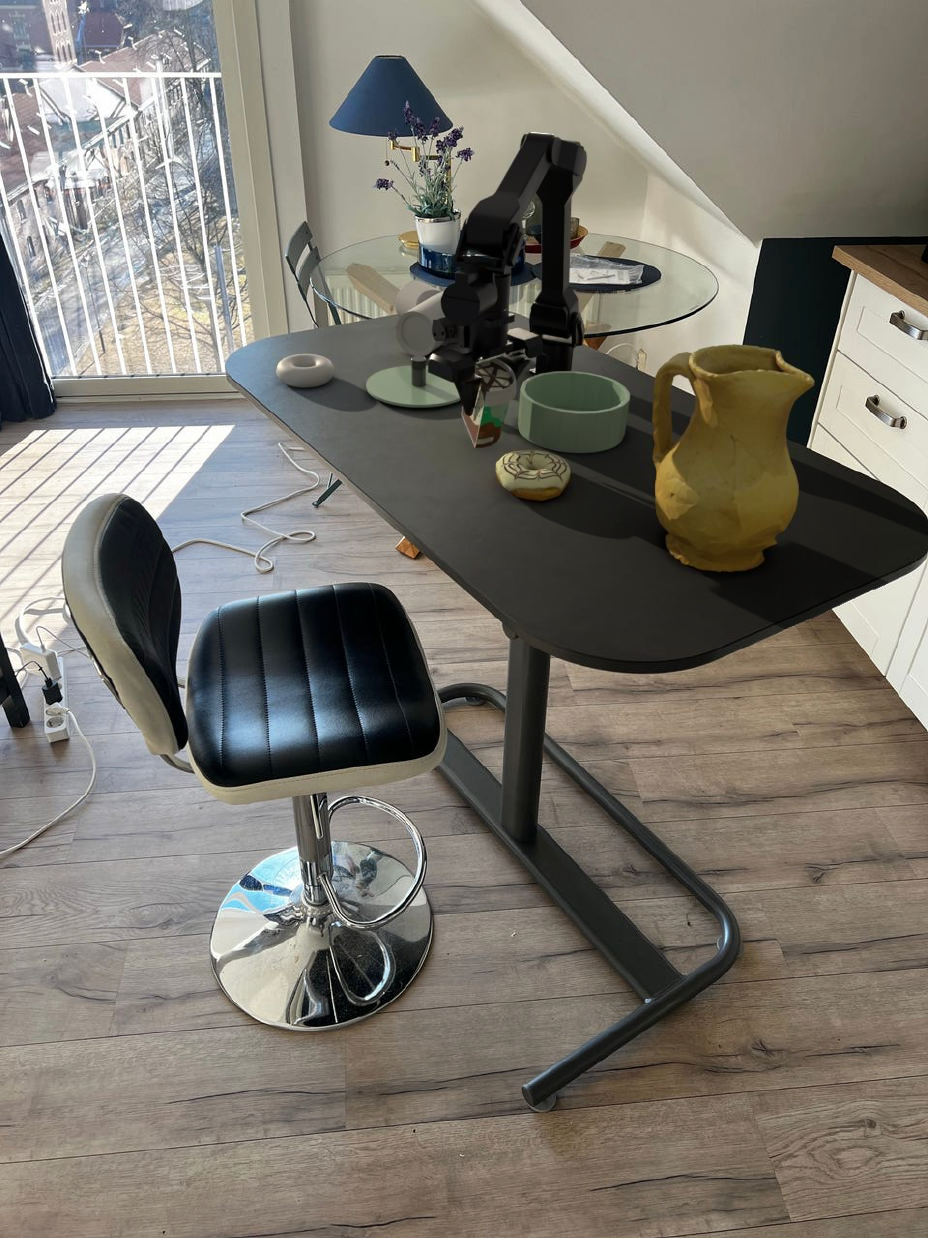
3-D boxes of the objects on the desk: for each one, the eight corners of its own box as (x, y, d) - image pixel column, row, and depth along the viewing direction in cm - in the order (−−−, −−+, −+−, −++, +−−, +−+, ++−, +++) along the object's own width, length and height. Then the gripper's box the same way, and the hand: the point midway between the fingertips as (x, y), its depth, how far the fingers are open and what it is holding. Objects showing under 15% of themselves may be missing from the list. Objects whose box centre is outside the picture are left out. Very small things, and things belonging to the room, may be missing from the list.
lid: (422, 363, 169) (423, 333, 165) (492, 392, 158) (493, 361, 155) (345, 387, 158) (343, 355, 155) (413, 420, 148) (413, 387, 145)
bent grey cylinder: (497, 339, 177) (438, 311, 189) (490, 286, 169) (430, 261, 182) (422, 376, 170) (367, 344, 183) (412, 323, 163) (355, 294, 176)
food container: (516, 453, 137) (528, 394, 131) (477, 453, 136) (487, 393, 129) (496, 409, 146) (507, 352, 139) (459, 409, 144) (468, 351, 138)
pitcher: (699, 594, 109) (741, 388, 95) (616, 527, 123) (642, 339, 110) (811, 570, 115) (865, 373, 101) (720, 509, 129) (757, 329, 116)
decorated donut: (499, 504, 126) (500, 479, 124) (492, 468, 135) (493, 445, 133) (574, 503, 127) (576, 479, 125) (562, 468, 136) (564, 444, 133)
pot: (565, 400, 157) (569, 363, 153) (645, 432, 147) (652, 394, 143) (496, 426, 147) (498, 388, 143) (577, 463, 137) (581, 422, 133)
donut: (328, 393, 156) (340, 370, 164) (326, 373, 154) (339, 352, 162) (270, 389, 157) (285, 367, 165) (268, 369, 155) (283, 348, 163)
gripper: (495, 280, 140) (490, 379, 149) (402, 304, 129) (403, 408, 138) (549, 298, 134) (540, 400, 143) (456, 324, 123) (453, 432, 132)
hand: (484, 409), depth 139 cm, fingers closed on food container, 6 cm apart
